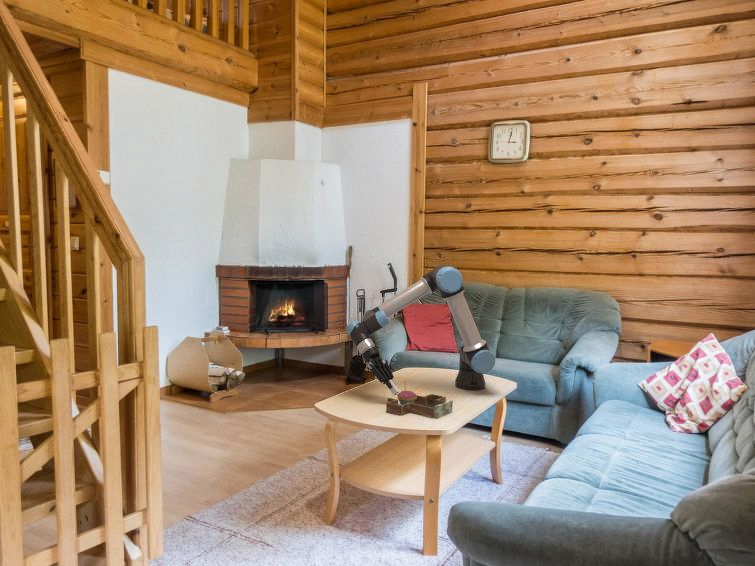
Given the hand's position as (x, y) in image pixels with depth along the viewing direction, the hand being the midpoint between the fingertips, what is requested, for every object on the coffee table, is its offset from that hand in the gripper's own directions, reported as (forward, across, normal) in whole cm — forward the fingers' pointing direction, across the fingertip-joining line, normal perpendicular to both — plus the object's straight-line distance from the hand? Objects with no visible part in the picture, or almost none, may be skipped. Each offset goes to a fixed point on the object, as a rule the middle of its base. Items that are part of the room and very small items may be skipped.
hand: (396, 393), depth 263 cm
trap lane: (+12, -1, +4) cm, 12 cm away
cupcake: (+7, -1, 0) cm, 7 cm away
